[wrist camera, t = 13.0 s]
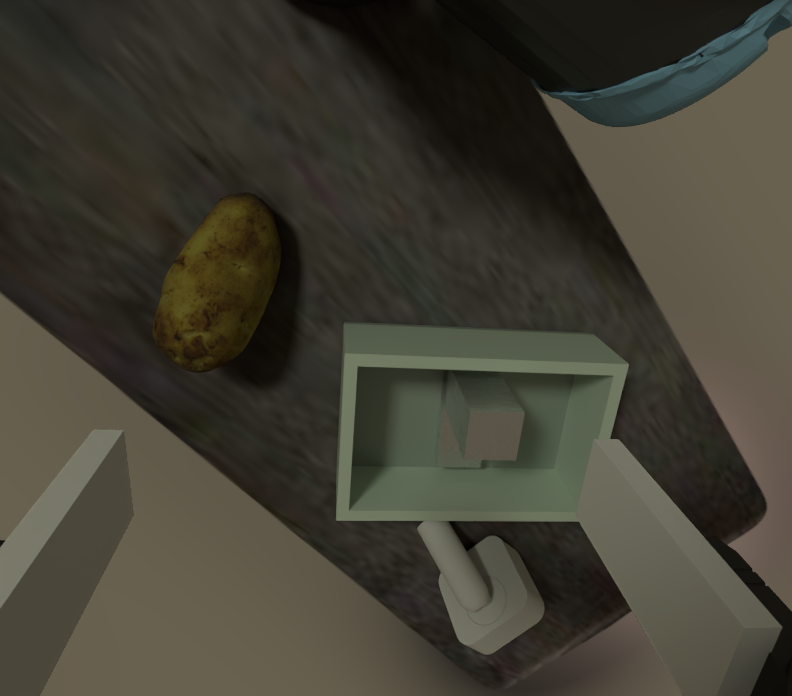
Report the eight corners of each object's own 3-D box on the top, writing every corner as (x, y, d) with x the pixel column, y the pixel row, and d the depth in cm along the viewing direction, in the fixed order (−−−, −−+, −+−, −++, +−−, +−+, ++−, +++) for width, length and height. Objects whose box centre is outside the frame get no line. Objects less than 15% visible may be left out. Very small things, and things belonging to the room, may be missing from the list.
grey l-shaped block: (445, 356, 49) (470, 411, 40) (490, 358, 50) (524, 413, 40) (433, 454, 53) (453, 525, 44) (475, 455, 53) (504, 526, 44)
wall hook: (452, 486, 54) (492, 575, 46) (506, 528, 60) (550, 614, 52) (389, 534, 56) (417, 629, 48) (448, 571, 61) (481, 661, 53)
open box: (343, 321, 48) (344, 353, 41) (591, 332, 50) (629, 364, 44) (336, 471, 53) (336, 520, 47) (559, 474, 56) (589, 521, 49)
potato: (326, 250, 45) (323, 276, 38) (223, 359, 48) (202, 402, 40) (244, 175, 42) (224, 186, 35) (139, 294, 45) (100, 328, 38)
